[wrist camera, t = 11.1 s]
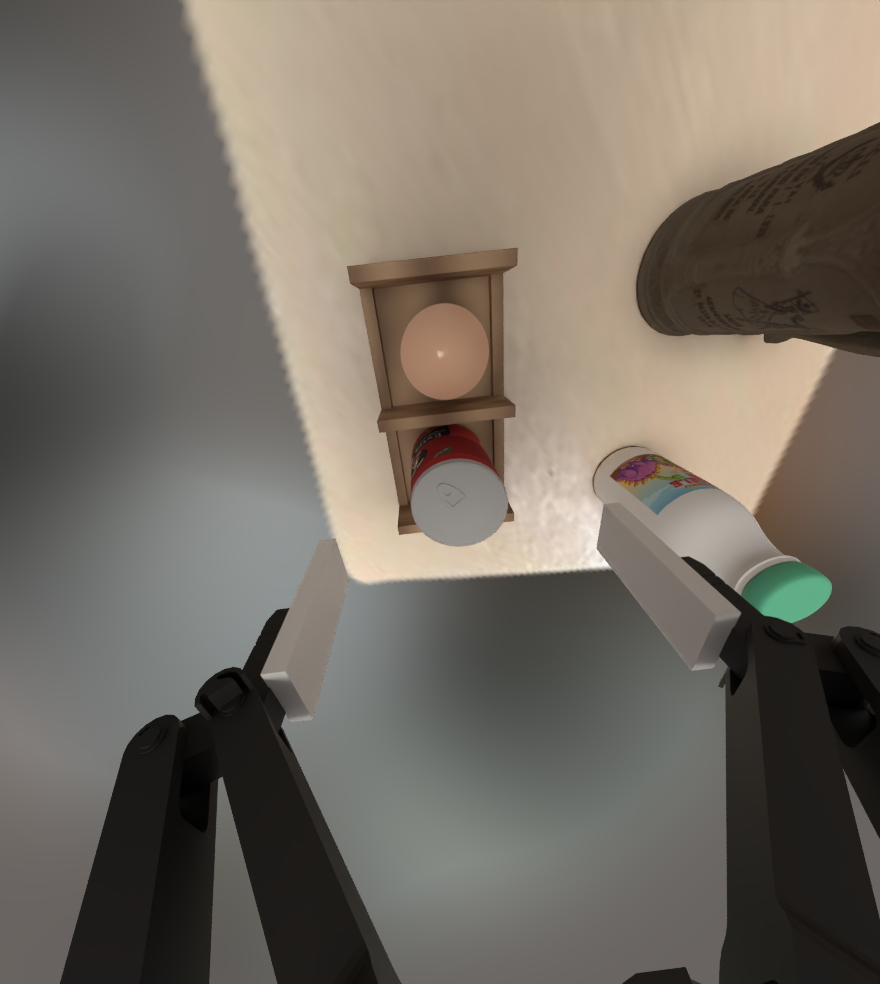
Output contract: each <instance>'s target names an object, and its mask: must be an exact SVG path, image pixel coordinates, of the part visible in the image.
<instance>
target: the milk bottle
mask: <svg viewBox="0 0 880 984" xmlns="http://www.w3.org/2000/svg"><path fill="white" fill-rule="evenodd" d="M594 489H595V493H596V495H597V496H598V498H599V499H600V500H601V501H602V502H603V503H604V504H608V503H616V502H620V503H621V504H622V505H623V506H624V507H625V508H626V509H628V510H629V511H630V512H631V513H632V514H633V515H634V516H635V517H636V518H638V519H639V520H640V521H641V522H642V523H643V524H644V525H645V526H646V527H647V528H649V529H650V530H651V531H652V532H653V533H654V534H655V535H656V536H657V537H658V538H660V539H661V540H662V541H663V542H664V543H665V544H666V545H667V546H668V547H669V548H671V549H672V550H673V551H674V552H675V553H676V554H677V555H678V556H679V557H687V556H689V557H691V558H693V559H695V560H697V561H699V562H701V563H703V564H704V565H706V566H707V567H708V568H709V569H710V570H711V571H713V572H714V573H715V574H716V576H718V577H720V578H721V579H722V580H723V581H724V582H725V584H728V585H729V586H730V587H731V588H732V589H734V590H735V591H736V592H737V593H738V594H739V595H741V596H742V597H743V598H744V599H745V600H746V601H748V602H749V603H750V604H751V605H752V606H753V607H755V608H756V609H757V610H758V611H759V612H760V613H762V614H763V615H764V616H771V617H775V618H779V619H782V620H784V621H787V622H789V623H792V622H795V621H798V620H801V619H803V618H805V617H807V616H809V615H810V614H812V613H813V612H815V611H816V610H818V609H819V608H820V607H821V606H822V605H823V604H824V603H825V602H826V601H827V600H828V598H829V596H830V594H831V591H832V585H831V582H830V581H829V580H828V579H827V578H826V577H825V576H824V575H822V574H821V573H820V572H818V571H817V570H815V569H813V568H811V567H810V566H808V565H806V564H804V563H801V562H800V561H799V560H798V559H797V558H795V557H792V556H785V555H783V554H782V553H781V552H780V551H779V550H777V548H775V547H774V545H773V544H772V543H771V542H770V541H769V540H768V538H767V537H766V535H765V534H764V533H763V531H762V529H761V528H760V526H759V524H758V523H757V521H756V520H755V518H754V517H753V515H752V514H751V513H750V512H749V511H748V510H747V509H746V508H745V507H744V506H743V505H742V504H741V503H740V502H738V501H737V500H736V499H734V498H733V497H732V496H730V495H729V494H727V493H725V492H724V491H722V490H720V489H719V488H717V487H715V486H714V485H712V484H710V483H708V482H707V481H705V480H703V479H701V478H700V477H698V476H696V475H694V474H692V473H691V472H689V471H687V470H685V469H683V468H681V467H680V466H678V465H676V464H674V463H672V462H670V461H669V460H667V459H665V458H663V457H661V456H659V455H658V454H656V453H654V452H652V451H650V450H648V449H645V448H642V447H628V448H624V449H621V450H619V451H616V452H614V453H613V454H611V455H610V456H609V457H607V458H606V459H605V460H604V461H603V462H602V464H601V465H600V466H599V468H598V469H597V472H596V474H595V478H594Z"/></svg>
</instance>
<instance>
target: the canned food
mask: <svg viewBox="0 0 880 984" xmlns="http://www.w3.org/2000/svg"><path fill="white" fill-rule="evenodd" d="M410 504H411V511H412V515H413V518H414V520H415V523H416V524H417V526H418V527H419V529H420V530H421V531H422V532H423V533H424V534H425V535H426V536H428V537H429V538H431V539H432V540H434V541H436V542H438V543H441V544H444V545H448V546H468V545H473V544H476V543H479V542H481V541H483V540H485V539H487V538H488V537H490V536H491V535H492V534H494V533H495V532H496V531H497V530H498V528H499V527H500V526H501V524H502V523H503V521H504V519H505V517H506V513H507V509H508V498H507V493H506V490H505V487H504V484H503V482H502V480H501V478H500V476H499V474H498V472H497V471H496V469H495V467H494V465H493V463H492V462H491V460H490V458H489V456H488V455H487V453H486V451H485V449H484V447H483V446H482V444H481V442H480V440H479V439H478V438H477V436H476V435H475V434H474V433H473V432H471V431H470V430H469V429H467V428H465V427H463V426H460V425H457V424H449V425H440V426H433V427H431V428H429V429H427V430H426V431H425V432H423V433H422V434H421V435H420V436H419V438H418V439H417V441H416V442H415V444H414V447H413V451H412V465H411V490H410Z"/></svg>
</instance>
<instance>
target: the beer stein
mask: <svg viewBox="0 0 880 984" xmlns="http://www.w3.org/2000/svg"><path fill="white" fill-rule="evenodd" d="M637 293H638V301H639V307H640V309H641V312H642V314H643V316H644V318H645V319H646V320H647V322H648V323H649V325H650V326H651V327H653V328H654V329H656V330H657V331H659V332H660V333H663V334H666V335H672V336H684V335H690V334H695V335H730V334H740V335H759V334H764V342H765V343H780V342H784V341H787V340H789V339H791V338H798V339H803V340H807V341H811V342H815V343H818V344H822V345H826V346H829V347H833V348H837V349H840V350H844V351H848V352H852V353H857V354H862V355H869V356H874V357H880V122H879V123H877V124H875V125H873V126H871V127H868V128H866V129H864V130H862V131H860V132H858V133H856V134H853V135H851V136H848V137H846V138H843V139H840V140H838V141H835V142H833V143H831V144H828V145H826V146H824V147H822V148H819V149H817V150H815V151H813V152H810V153H807V154H804V155H801V156H798V157H796V158H793V159H790V160H788V161H786V162H784V163H782V164H780V165H777V166H774V167H771V168H768V169H766V170H763V171H761V172H758V173H756V174H754V175H751V176H749V177H747V178H744V179H742V180H739V181H735V182H732V183H729V184H728V185H726V186H724V187H723V188H721V189H718V190H714V191H709V192H706V193H704V194H701V195H699V196H697V197H695V198H693V199H691V200H689V201H688V202H687V203H685V204H684V205H682V206H681V207H680V208H678V209H677V210H676V211H675V212H674V213H673V214H672V215H671V216H670V217H669V218H668V219H667V220H666V221H665V222H664V223H663V224H662V226H661V227H660V229H659V230H658V232H657V233H656V235H655V236H654V238H653V240H652V242H651V244H650V246H649V248H648V249H647V251H646V254H645V257H644V260H643V263H642V266H641V268H640V272H639V278H638V285H637Z"/></svg>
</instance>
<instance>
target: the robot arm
mask: <svg viewBox="0 0 880 984" xmlns="http://www.w3.org/2000/svg"><path fill="white" fill-rule="evenodd" d="M597 550H598V551H599V552H600V554H601V555H602V556H603V557H604V559H605V560H606V561H607V563H608V564H609V565H610V566H611V568H612V569H613V570H614V572H615V573H616V574H617V575H618V577H619V578H620V579H621V580H622V582H623V583H624V584H625V586H626V587H627V588H628V589H629V591H630V592H631V593H632V595H633V596H634V597H635V598H636V600H637V601H638V602H639V604H640V605H641V606H642V608H643V609H644V610H645V611H646V613H647V614H648V615H649V616H650V618H651V619H652V620H653V622H654V623H655V624H656V625H657V627H658V628H659V629H660V631H661V632H662V633H663V634H664V636H665V637H666V638H667V640H668V641H669V642H670V643H671V644H672V646H673V647H674V649H675V650H676V651H677V652H678V654H679V655H680V656H681V657H682V659H683V660H684V661H685V663H686V664H687V665H688V667H689V668H690V669H691V670H692V671H694V670H701V669H709V668H714V666H715V664H716V662H717V660H718V658H719V657H720V658H721V659H722V660H723V661H724V662H725V663H726V664H727V666H728V667H727V669H726V671H725V673H724V675H723V677H722V679H721V680H720V683H719V687H721V688H723V686H724V684H725V685H726V686H725V687H726V688H725V692H726V814H727V815H726V822H727V824H726V825H727V930H726V936H725V940H724V943H723V947H722V951H721V958H720V970H719V984H880V918H879V914H878V910H877V906H876V902H875V898H874V894H873V890H872V885H871V881H870V877H869V873H868V870H867V865H866V862H865V857H864V853H863V849H862V845H861V841H860V837H859V833H858V829H857V825H856V821H855V816H854V813H853V808H852V804H851V800H850V796H849V792H848V788H847V784H846V780H845V776H844V772H843V769H844V771H845V773H846V775H847V777H848V779H849V781H850V783H851V785H852V787H853V788H854V790H855V792H856V794H857V796H858V798H859V800H860V802H861V804H862V805H863V808H864V810H865V812H866V813H867V815H868V817H869V819H870V821H871V823H872V825H873V827H874V829H875V831H876V833H877V835H878V836H879V838H880V634H878V633H876V632H874V631H871V630H868V629H864V628H860V627H851V626H847V627H844V628H841V629H840V630H839V632H838V633H837V634H836V636H835V637H833V636H826V635H818V634H811V633H804V632H803V631H802V630H800V629H799V628H797V627H796V626H794V625H793V624H791V623H789V622H787V621H784V620H782V619H779V618H775V617H771V616H764V615H763V614H762V613H760V612H759V611H758V610H757V609H756V608H755V607H753V606H752V605H751V604H750V603H749V602H748V601H746V600H745V599H744V598H743V597H742V596H741V595H739V594H738V593H737V592H736V591H735V590H734V589H732V588H731V587H730V586H729V585H728V584H725V582H724V581H723V580H722V579H721V578H720V577H718V576H716V574H715V573H714V572H713V571H711V570H710V569H709V568H708V567H707V566H706V565H704V564H703V563H701V562H699V561H697V560H695V559H693V558H691V557H689V556H687V557H679V556H678V555H677V554H676V553H675V552H674V551H673V550H672V549H671V548H669V547H668V546H667V545H666V544H665V543H664V542H663V541H662V540H661V539H660V538H658V537H657V536H656V535H655V534H654V533H653V532H652V531H651V530H650V529H649V528H647V527H646V526H645V525H644V524H643V523H642V522H641V521H640V520H639V519H638V518H636V517H635V516H634V515H633V514H632V513H631V512H630V511H629V510H628V509H626V508H625V507H624V506H623V505H622V504H621V503H620V502H616V503H608V504H604V506H603V512H602V518H601V525H600V531H599V537H598V543H597ZM348 583H349V578H348V575H347V572H346V569H345V566H344V563H343V560H342V557H341V554H340V551H339V548H338V545H337V542H336V539H327V540H320V541H319V543H318V545H317V547H316V550H315V552H314V554H313V556H312V559H311V561H310V563H309V565H308V568H307V570H306V572H305V575H304V577H303V579H302V582H301V584H300V586H299V589H298V590H297V593H296V595H295V597H294V599H293V602H292V604H291V606H290V608H287V609H279V610H276V611H275V613H274V614H273V615H272V616H271V617H270V618H269V619H268V620H267V622H266V624H265V626H264V628H263V630H262V632H261V635H260V636H259V638H258V640H257V642H256V646H254V648H253V650H252V652H251V654H250V656H249V658H248V660H247V662H246V664H245V666H244V668H243V670H241V668H236V667H232V668H227V669H224V670H222V671H220V672H218V673H216V674H215V675H213V676H212V677H211V678H210V679H208V680H207V681H206V682H205V684H204V685H203V686H202V687H201V688H200V689H199V692H198V694H197V696H196V698H195V707H196V708H197V710H198V711H199V712H200V713H198V714H196V715H194V716H191V717H189V718H187V719H184V720H182V721H180V720H179V719H178V718H177V717H176V716H174V715H164V716H162V717H159V718H156V719H155V720H153V721H152V722H150V723H148V724H147V725H145V726H144V727H143V728H142V729H141V730H140V731H139V732H138V733H137V734H136V735H135V736H134V737H133V738H132V740H131V741H130V742H129V744H128V745H127V747H126V749H125V752H124V754H123V757H122V761H121V764H120V768H119V772H118V775H117V779H116V783H115V786H114V790H113V793H112V797H111V800H110V804H109V808H108V812H107V815H106V819H105V822H104V826H103V829H102V833H101V837H100V840H99V844H98V848H97V851H96V855H95V859H94V862H93V866H92V870H91V873H90V877H89V880H88V884H87V888H86V891H85V895H84V898H83V902H82V906H81V909H80V913H79V916H78V920H77V924H76V927H75V931H74V934H73V938H72V942H71V945H70V949H69V953H68V957H67V960H66V963H65V967H64V971H63V975H62V979H61V982H60V984H209V974H210V952H211V929H212V906H213V883H214V882H213V881H214V861H215V838H216V813H217V792H218V779H219V778H221V777H223V780H224V784H225V787H226V791H227V795H228V798H229V803H230V806H231V810H232V814H233V817H234V821H235V825H236V829H237V833H238V836H239V840H240V844H241V848H242V851H243V855H244V859H245V863H246V867H247V870H248V874H249V878H250V882H251V885H252V889H253V893H254V896H255V901H256V904H257V908H258V912H259V916H260V919H261V923H262V927H263V930H264V935H265V938H266V942H267V946H268V950H269V953H270V956H271V961H272V965H273V968H274V972H275V976H276V980H277V983H278V984H402V983H401V982H400V980H399V978H398V976H397V975H396V972H395V971H394V968H393V967H392V964H391V962H390V960H389V958H388V956H387V953H386V951H385V949H384V947H383V945H382V943H381V941H380V938H379V936H378V934H377V932H376V930H375V927H374V925H373V923H372V921H371V919H370V917H369V914H368V912H367V910H366V908H365V906H364V904H363V901H362V899H361V897H360V895H359V893H358V891H357V889H356V886H355V884H354V882H353V880H352V878H351V875H350V874H349V871H348V869H347V867H346V865H345V863H344V860H343V858H342V856H341V854H340V852H339V850H338V847H337V845H336V843H335V841H334V839H333V836H332V834H331V832H330V830H329V828H328V826H327V823H326V821H325V819H324V817H323V815H322V813H321V810H320V808H319V806H318V804H317V802H316V800H315V797H314V795H313V793H312V791H311V789H310V787H309V784H308V782H307V780H306V778H305V776H304V774H303V772H302V769H301V767H300V765H299V763H298V761H297V758H296V756H295V754H294V752H293V750H292V748H291V745H290V743H289V741H288V739H287V737H286V735H285V733H284V730H283V729H282V727H281V725H282V722H283V719H284V716H285V714H286V715H287V717H288V718H289V720H290V721H291V722H297V721H305V720H313V718H314V714H315V710H316V706H317V703H318V699H319V695H320V691H321V687H322V683H323V680H324V675H325V672H326V668H327V664H328V660H329V657H330V652H331V649H332V644H333V641H334V637H335V633H336V629H337V625H338V622H339V618H340V614H341V610H342V606H343V603H344V599H345V595H346V591H347V587H348ZM842 767H843V768H842ZM623 984H700V983H698V982H696V981H694V980H692V979H690V977H689V974H688V972H687V969H686V968H685V967H682V968H674V969H666V970H659V971H651V972H644V973H636V974H635V975H633V976H632V977H631V978H629V979H628V980H626V981H625V982H624V983H623Z"/></svg>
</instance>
